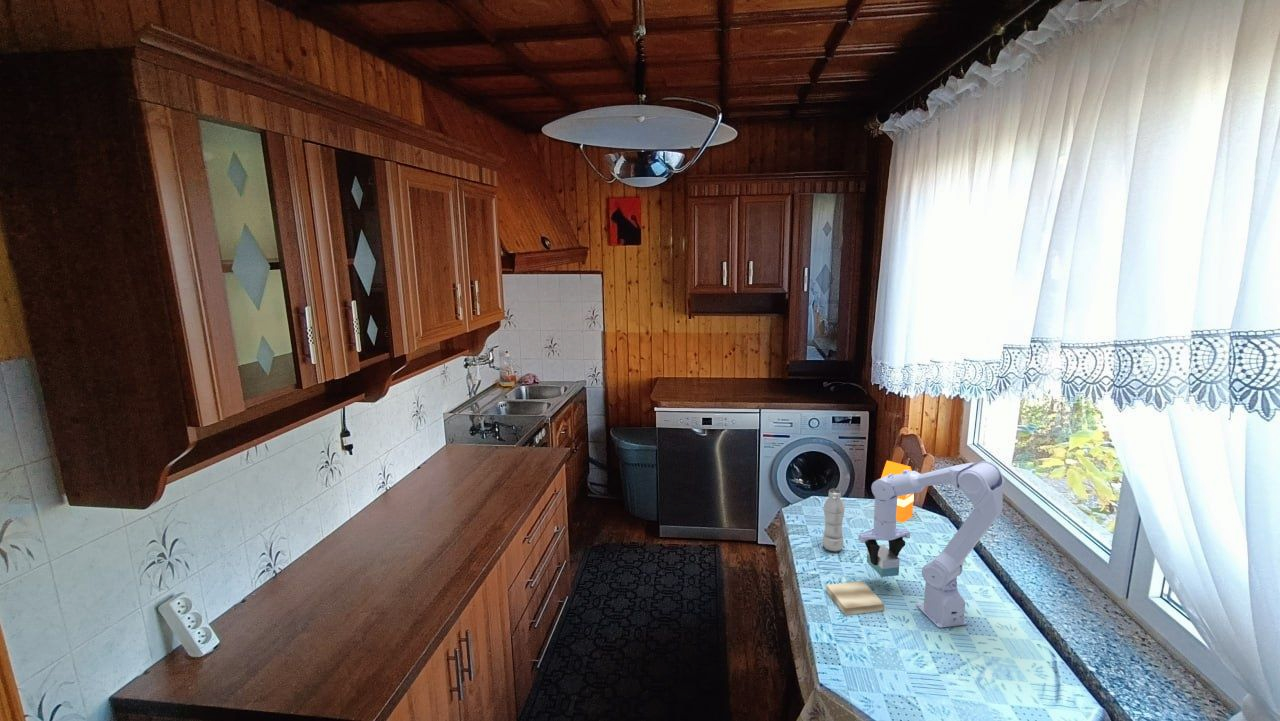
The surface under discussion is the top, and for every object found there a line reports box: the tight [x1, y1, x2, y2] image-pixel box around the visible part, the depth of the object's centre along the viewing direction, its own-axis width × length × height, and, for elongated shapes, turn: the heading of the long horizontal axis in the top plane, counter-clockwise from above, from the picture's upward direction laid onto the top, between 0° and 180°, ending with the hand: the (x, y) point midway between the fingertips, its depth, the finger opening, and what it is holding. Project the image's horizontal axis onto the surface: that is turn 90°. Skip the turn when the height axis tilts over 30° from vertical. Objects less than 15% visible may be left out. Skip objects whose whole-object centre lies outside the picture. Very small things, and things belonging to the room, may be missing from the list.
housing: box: [866, 544, 900, 578], centre depth 158 cm, size 8×5×5 cm, turn 7°
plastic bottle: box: [822, 488, 846, 553], centre depth 179 cm, size 6×7×20 cm
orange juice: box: [880, 460, 915, 524], centre depth 200 cm, size 8×9×20 cm
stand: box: [825, 580, 885, 616], centre depth 153 cm, size 11×11×2 cm
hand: (882, 562), depth 158 cm, fingers closed on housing, 5 cm apart
